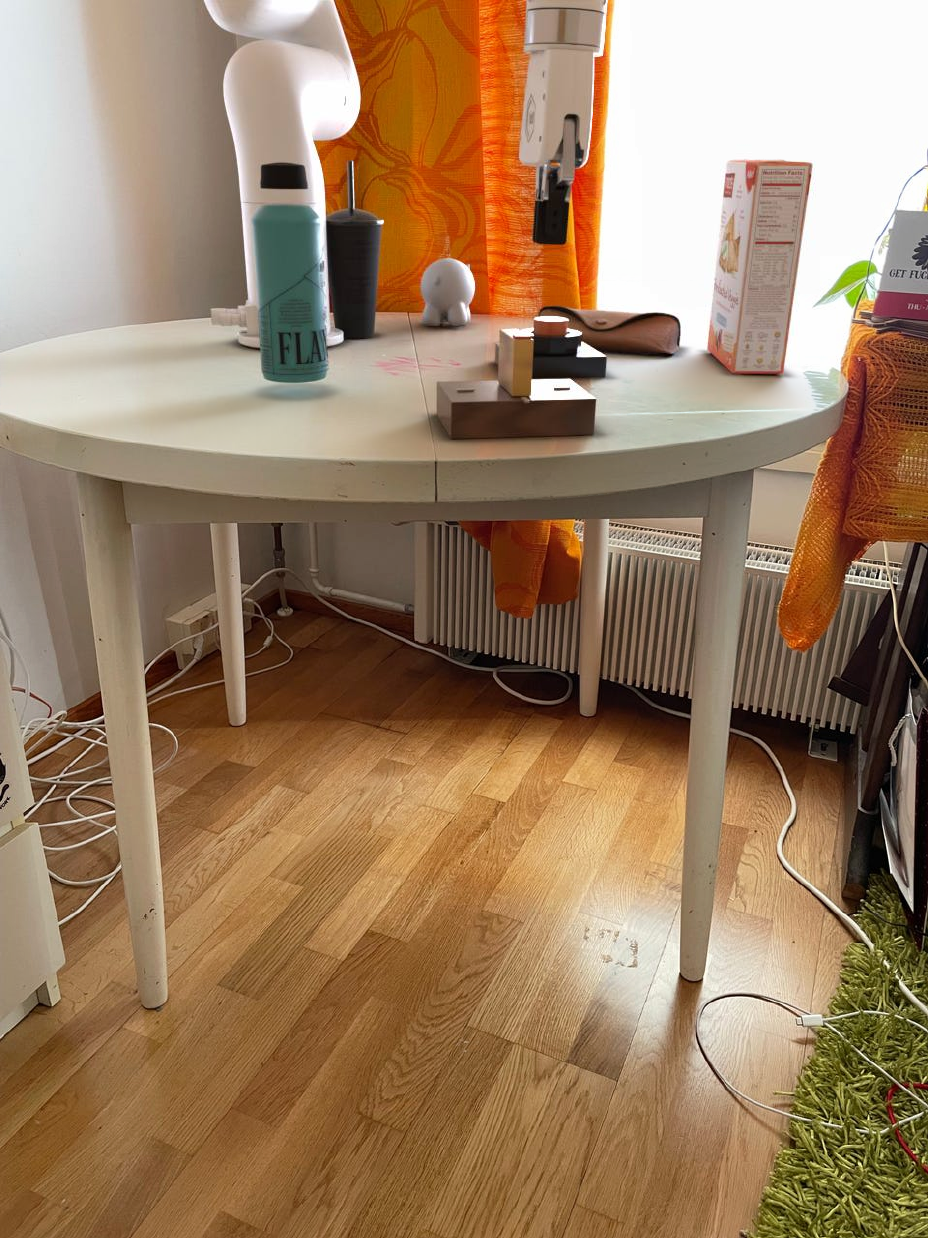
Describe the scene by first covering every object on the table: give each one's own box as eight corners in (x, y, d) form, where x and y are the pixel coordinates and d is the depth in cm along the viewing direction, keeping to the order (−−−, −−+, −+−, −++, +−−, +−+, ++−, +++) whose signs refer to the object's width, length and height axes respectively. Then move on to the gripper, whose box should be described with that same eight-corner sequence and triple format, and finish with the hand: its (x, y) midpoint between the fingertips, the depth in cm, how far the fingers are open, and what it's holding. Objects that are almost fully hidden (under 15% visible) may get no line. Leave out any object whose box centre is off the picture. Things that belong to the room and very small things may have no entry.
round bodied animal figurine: (487, 317, 140) (488, 254, 137) (466, 330, 130) (467, 261, 126) (438, 315, 142) (438, 252, 138) (414, 327, 131) (413, 259, 128)
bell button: (537, 338, 103) (538, 321, 102) (529, 333, 106) (530, 316, 105) (571, 338, 103) (572, 321, 103) (562, 332, 107) (563, 316, 106)
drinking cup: (375, 342, 121) (372, 161, 112) (316, 339, 122) (308, 160, 113) (392, 332, 127) (390, 161, 119) (335, 329, 129) (329, 160, 120)
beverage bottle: (273, 401, 91) (257, 162, 82) (252, 387, 96) (235, 161, 88) (340, 395, 94) (331, 163, 85) (316, 382, 99) (305, 162, 90)
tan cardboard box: (497, 382, 85) (499, 326, 83) (515, 382, 86) (517, 325, 84) (512, 396, 80) (514, 336, 78) (531, 396, 81) (533, 336, 79)
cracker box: (702, 351, 118) (724, 158, 109) (753, 352, 118) (779, 159, 109) (727, 374, 106) (754, 158, 97) (784, 375, 105) (816, 159, 96)
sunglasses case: (521, 343, 118) (530, 290, 118) (531, 365, 124) (539, 314, 125) (674, 354, 113) (682, 298, 114) (675, 375, 120) (683, 323, 121)
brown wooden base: (452, 441, 79) (453, 402, 78) (435, 413, 88) (435, 377, 86) (597, 437, 81) (599, 399, 80) (565, 410, 90) (567, 374, 88)
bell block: (512, 379, 101) (513, 339, 100) (494, 363, 109) (495, 325, 108) (605, 377, 103) (608, 338, 101) (581, 361, 111) (584, 324, 109)
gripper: (508, 40, 99) (498, 235, 107) (544, 26, 86) (530, 250, 94) (580, 44, 100) (565, 237, 108) (627, 31, 87) (605, 252, 95)
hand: (549, 243), depth 101 cm, fingers closed
